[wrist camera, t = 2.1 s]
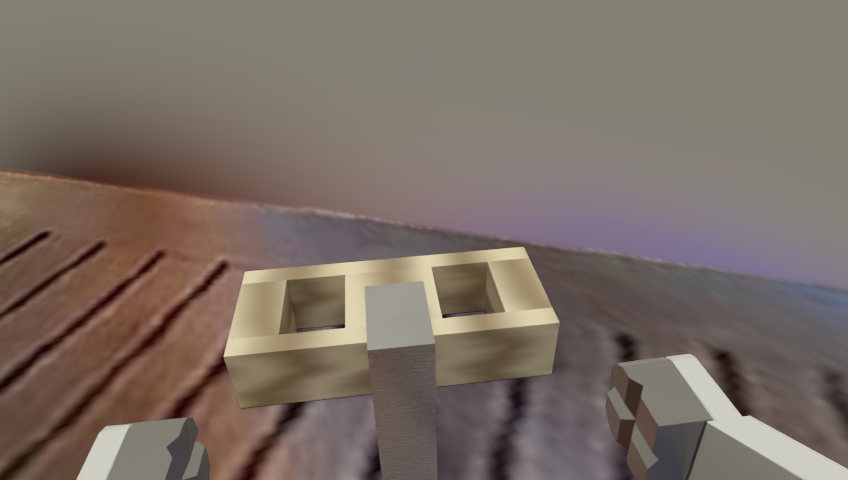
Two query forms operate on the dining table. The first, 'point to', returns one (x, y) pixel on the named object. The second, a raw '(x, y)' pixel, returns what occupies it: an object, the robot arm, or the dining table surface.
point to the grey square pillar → (403, 379)
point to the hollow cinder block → (345, 304)
